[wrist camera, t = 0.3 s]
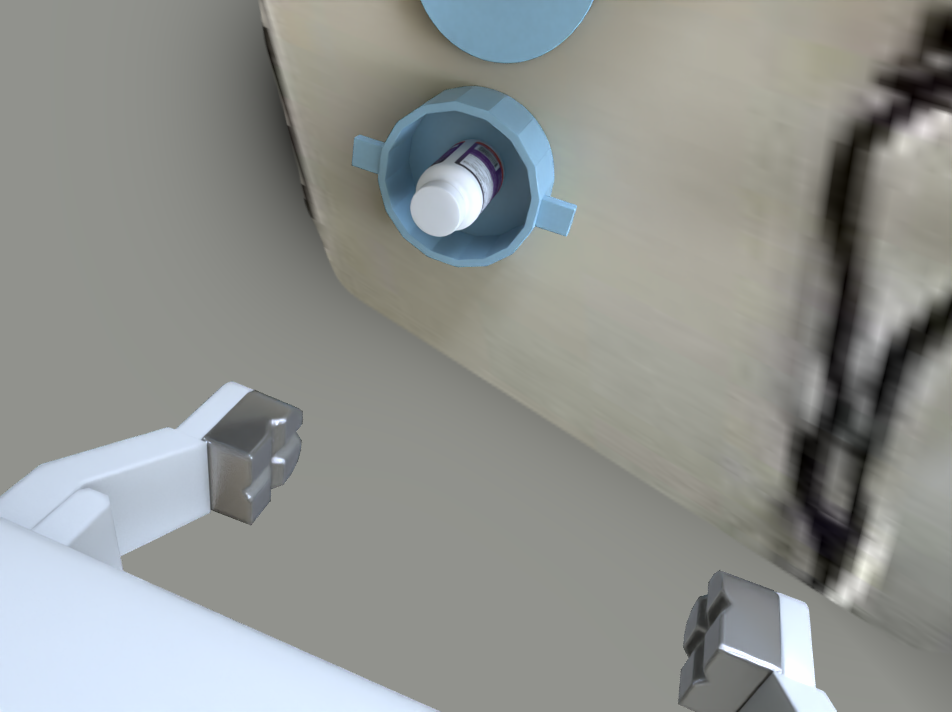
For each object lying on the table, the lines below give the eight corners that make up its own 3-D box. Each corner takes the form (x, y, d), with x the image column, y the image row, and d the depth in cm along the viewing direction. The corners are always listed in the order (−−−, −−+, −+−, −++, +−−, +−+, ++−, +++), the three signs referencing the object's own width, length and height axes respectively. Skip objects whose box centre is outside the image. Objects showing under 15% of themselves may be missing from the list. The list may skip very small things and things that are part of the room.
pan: (385, 56, 57) (356, 69, 53) (606, 123, 54) (594, 143, 50) (368, 205, 65) (342, 227, 61) (560, 270, 62) (546, 298, 58)
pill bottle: (449, 199, 62) (405, 243, 54) (442, 137, 59) (395, 175, 51) (508, 201, 60) (472, 247, 52) (504, 137, 57) (465, 177, 49)
